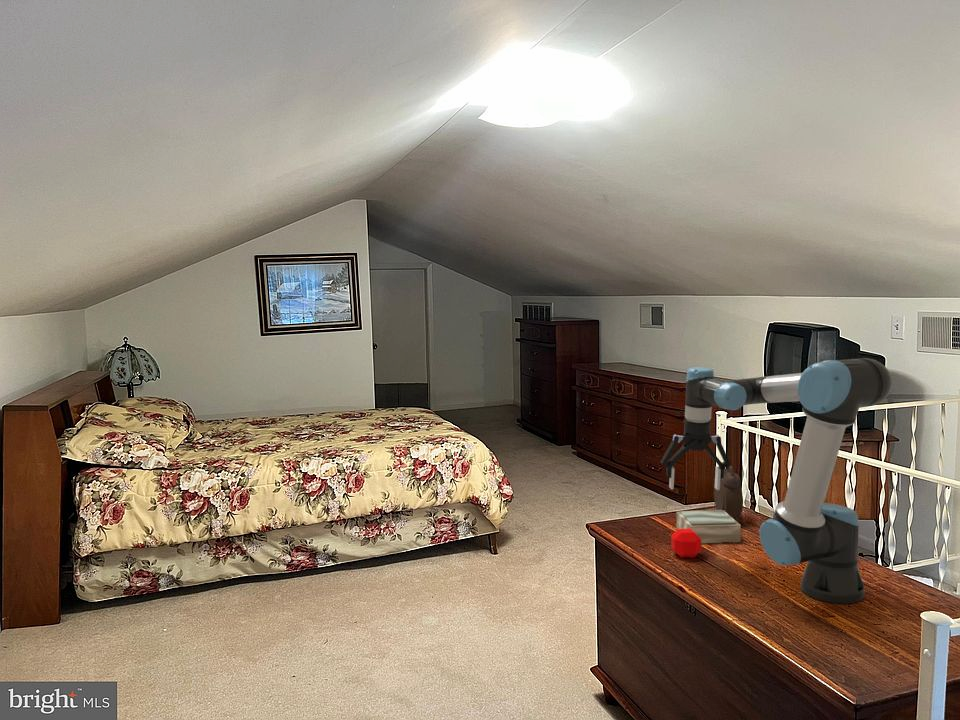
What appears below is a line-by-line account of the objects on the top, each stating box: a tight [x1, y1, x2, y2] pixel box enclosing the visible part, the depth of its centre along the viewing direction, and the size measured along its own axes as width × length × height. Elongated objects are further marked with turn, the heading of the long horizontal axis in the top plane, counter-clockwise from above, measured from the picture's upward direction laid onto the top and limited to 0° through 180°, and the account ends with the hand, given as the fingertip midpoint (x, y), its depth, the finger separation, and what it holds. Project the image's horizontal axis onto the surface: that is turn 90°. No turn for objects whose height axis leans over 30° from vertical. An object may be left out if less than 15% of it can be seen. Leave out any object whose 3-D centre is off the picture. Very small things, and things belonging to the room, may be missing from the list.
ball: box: [670, 528, 702, 558], centre depth 223 cm, size 8×8×8 cm
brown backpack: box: [713, 465, 744, 523], centre depth 256 cm, size 15×7×20 cm, turn 179°
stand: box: [675, 509, 742, 544], centre depth 241 cm, size 16×16×6 cm
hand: (694, 488), depth 222 cm, fingers open, 13 cm apart
